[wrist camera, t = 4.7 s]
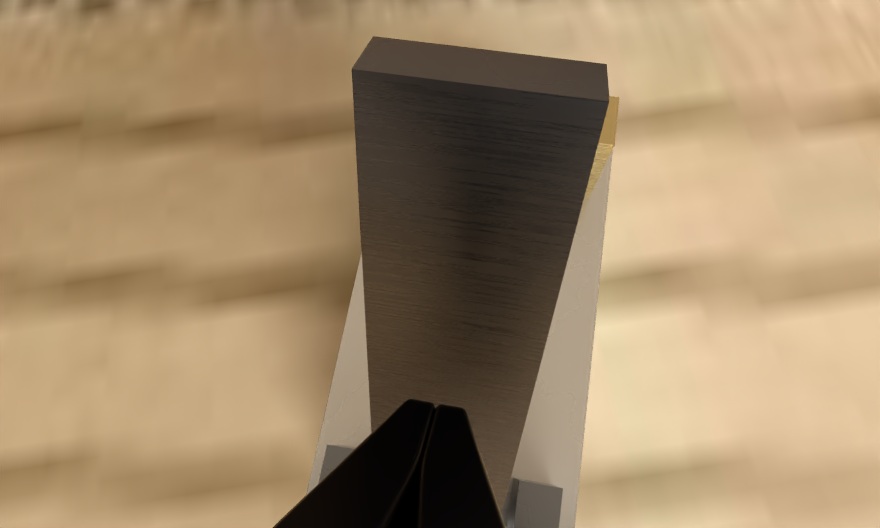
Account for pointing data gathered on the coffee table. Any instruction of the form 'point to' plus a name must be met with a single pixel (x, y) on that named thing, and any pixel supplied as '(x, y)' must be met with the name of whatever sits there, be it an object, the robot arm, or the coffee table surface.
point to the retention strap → (468, 224)
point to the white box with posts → (556, 389)
